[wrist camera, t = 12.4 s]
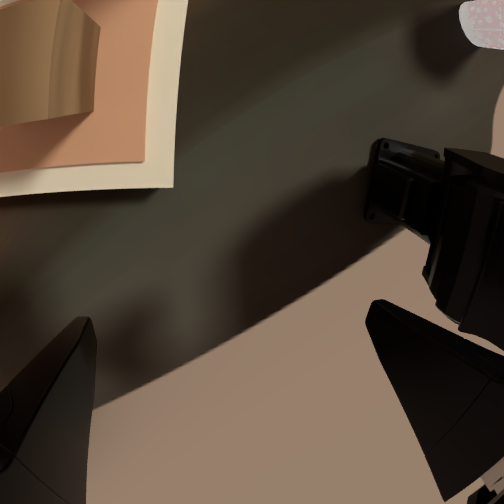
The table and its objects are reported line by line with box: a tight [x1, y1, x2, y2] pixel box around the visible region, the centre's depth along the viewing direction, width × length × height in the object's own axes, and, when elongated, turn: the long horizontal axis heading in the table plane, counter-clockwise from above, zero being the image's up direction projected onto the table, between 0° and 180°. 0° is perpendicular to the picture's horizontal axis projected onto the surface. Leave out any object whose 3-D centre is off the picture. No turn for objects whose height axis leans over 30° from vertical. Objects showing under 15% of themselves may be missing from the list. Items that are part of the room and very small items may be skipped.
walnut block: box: [0, 0, 101, 127], centre depth 9 cm, size 4×4×6 cm
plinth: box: [0, 0, 188, 197], centre depth 12 cm, size 13×13×3 cm
